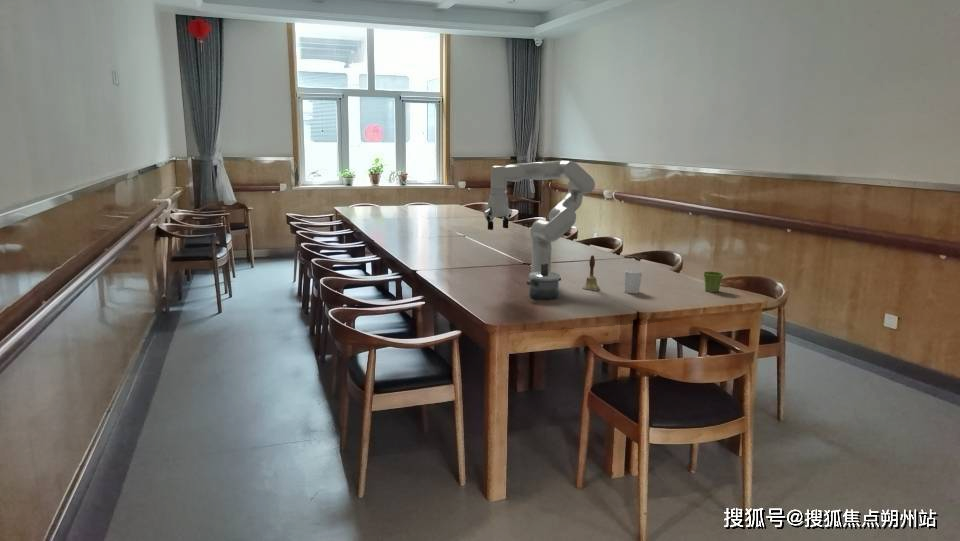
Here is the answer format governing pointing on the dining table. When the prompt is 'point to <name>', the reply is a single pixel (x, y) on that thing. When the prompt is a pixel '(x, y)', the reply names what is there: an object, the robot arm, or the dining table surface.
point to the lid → (544, 274)
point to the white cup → (632, 281)
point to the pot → (543, 289)
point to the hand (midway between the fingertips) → (498, 228)
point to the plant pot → (712, 281)
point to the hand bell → (591, 277)
